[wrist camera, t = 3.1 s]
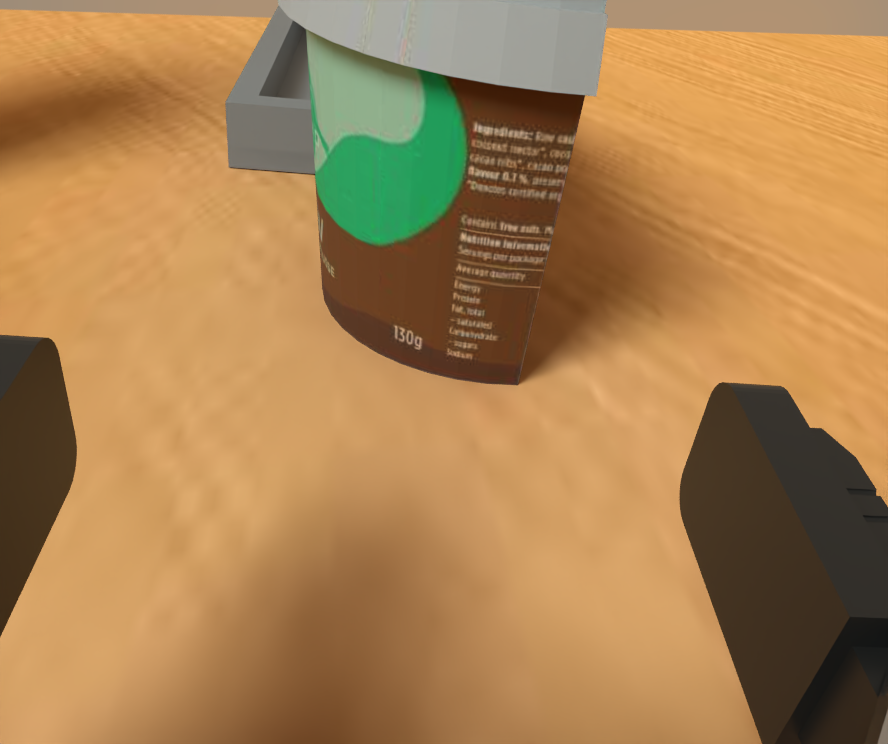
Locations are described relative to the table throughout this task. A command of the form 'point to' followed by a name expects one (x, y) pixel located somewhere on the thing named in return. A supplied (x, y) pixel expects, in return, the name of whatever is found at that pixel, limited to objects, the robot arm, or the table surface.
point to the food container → (444, 167)
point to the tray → (273, 103)
